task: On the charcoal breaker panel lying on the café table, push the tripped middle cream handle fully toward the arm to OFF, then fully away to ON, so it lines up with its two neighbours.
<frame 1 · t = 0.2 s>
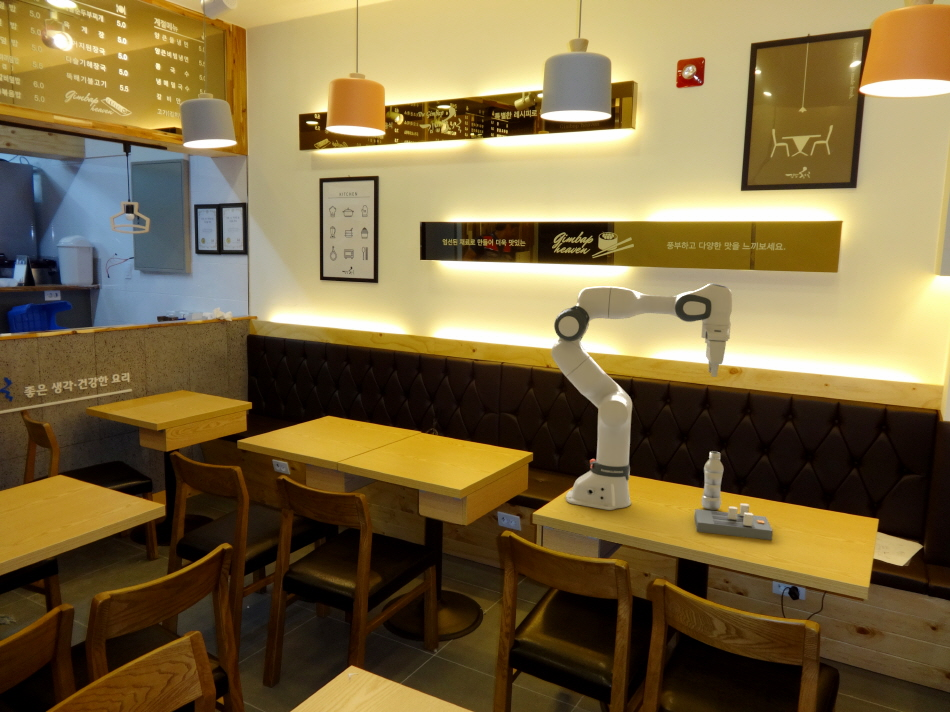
hand: (712, 374, 232), 47 cm above the table, tool pointing down, fingers open, 8 cm apart
breaker panel: (731, 528, 223), on the table
plastic bottle: (710, 509, 241), on the table
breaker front: (748, 519, 217), point 5 cm above the table, slide at 8.0 cm
breaker tripped: (732, 512, 223), point 5 cm above the table, slide at 4.0 cm
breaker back: (744, 509, 226), point 5 cm above the table, slide at 8.0 cm
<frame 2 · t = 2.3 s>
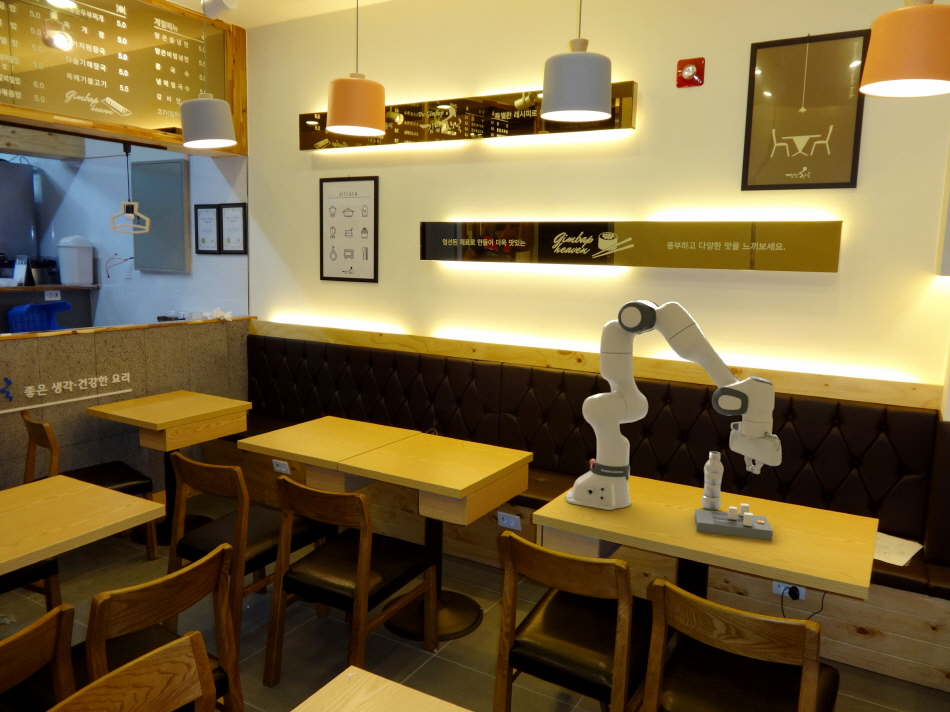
hand: (753, 472, 220), 19 cm above the table, tool pointing down, fingers closed
nothing on the table moved.
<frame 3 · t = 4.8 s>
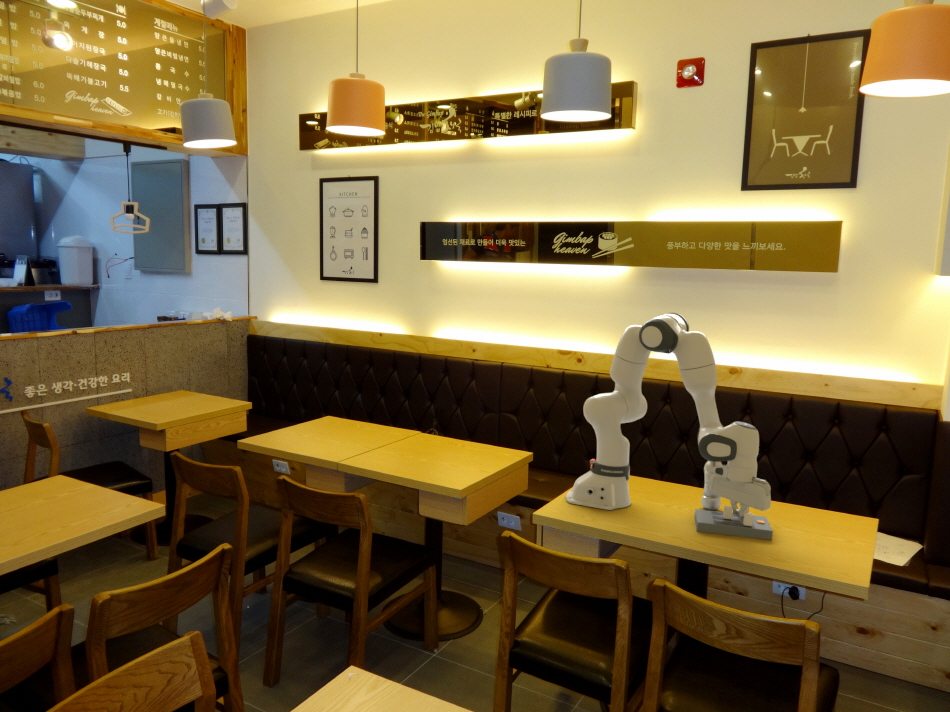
hand: (737, 515, 222), 4 cm above the table, tool pointing down, fingers closed
breaker tripped: (727, 512, 223), point 5 cm above the table, slide at 2.5 cm, touching gripper
everything else where it was.
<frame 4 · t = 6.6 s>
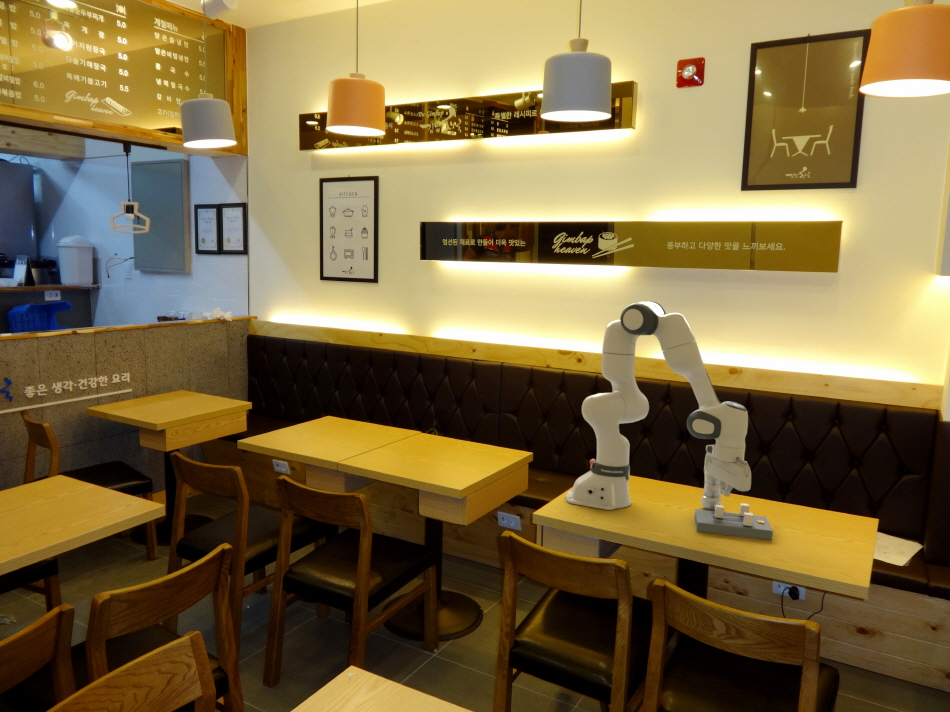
hand: (724, 495, 223), 11 cm above the table, tool pointing down, fingers closed
breaker tripped: (719, 511, 223), point 5 cm above the table, slide at -0.1 cm
everything else where it was.
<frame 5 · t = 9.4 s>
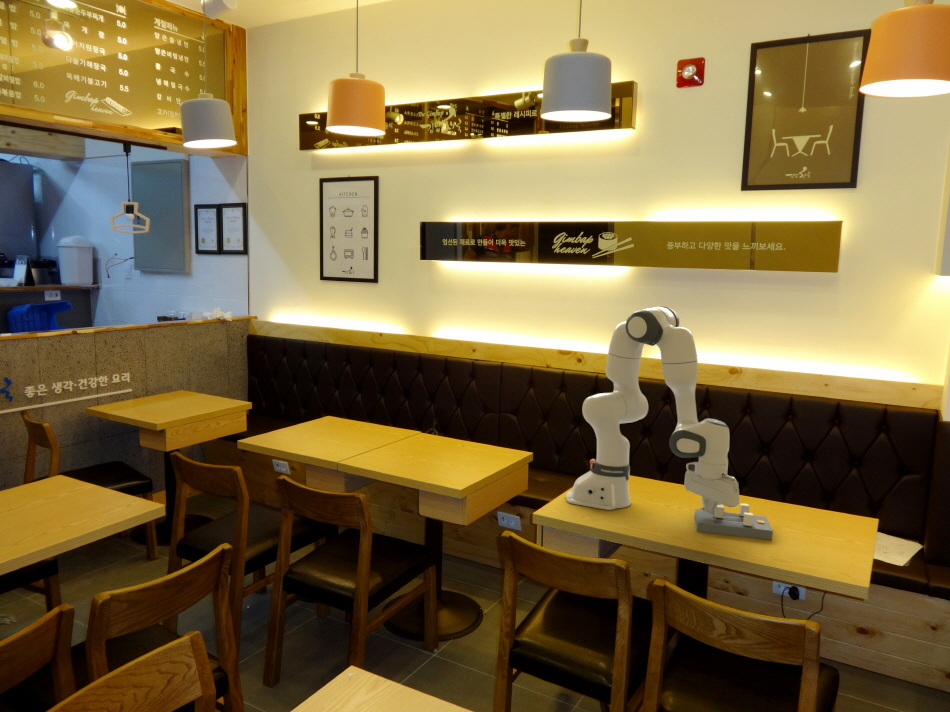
hand: (709, 511, 224), 5 cm above the table, tool pointing down, fingers closed
breaker tripped: (719, 511, 223), point 5 cm above the table, slide at 0.0 cm, touching gripper
everything else where it was.
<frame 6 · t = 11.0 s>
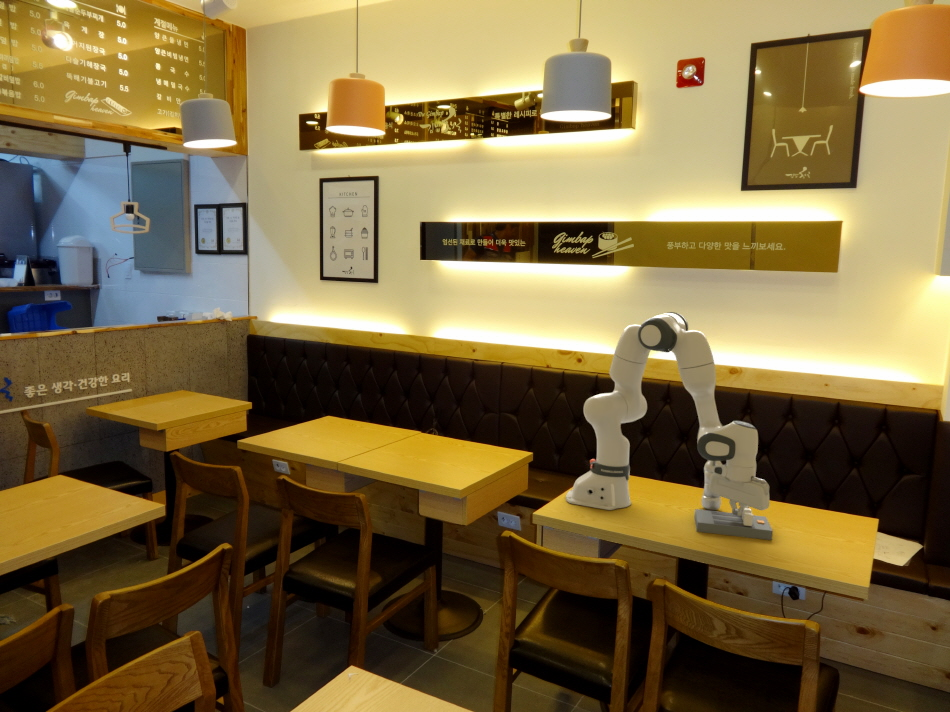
hand: (737, 515, 222), 5 cm above the table, tool pointing down, fingers closed
breaker tripped: (746, 514, 222), point 5 cm above the table, slide at 8.2 cm, touching gripper
everything else where it was.
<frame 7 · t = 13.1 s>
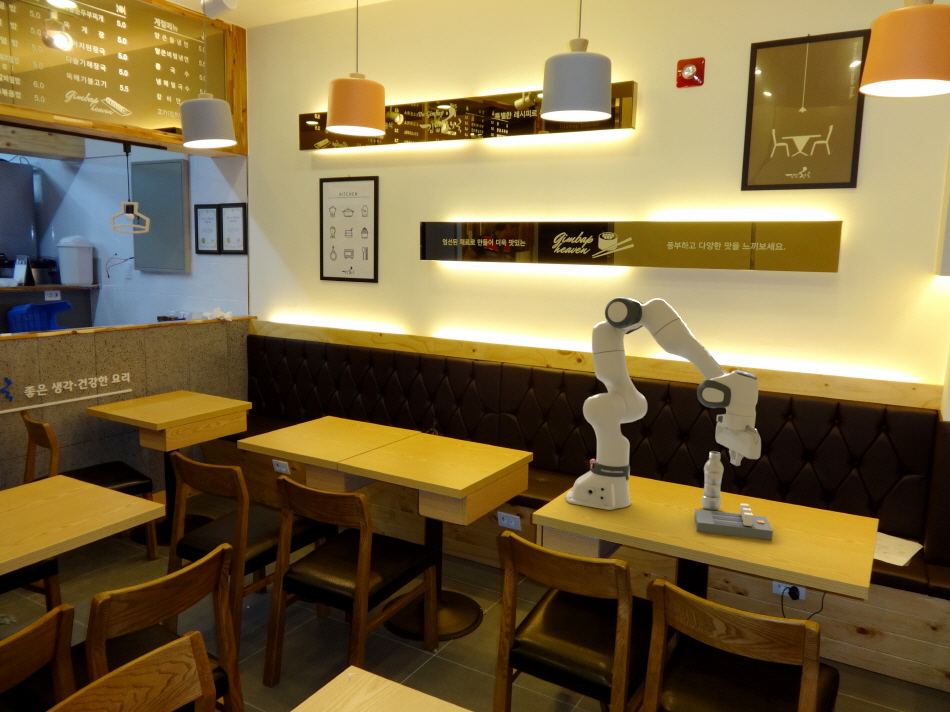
hand: (735, 464, 223), 21 cm above the table, tool pointing down, fingers closed
breaker tripped: (746, 514, 222), point 5 cm above the table, slide at 8.1 cm
everything else where it was.
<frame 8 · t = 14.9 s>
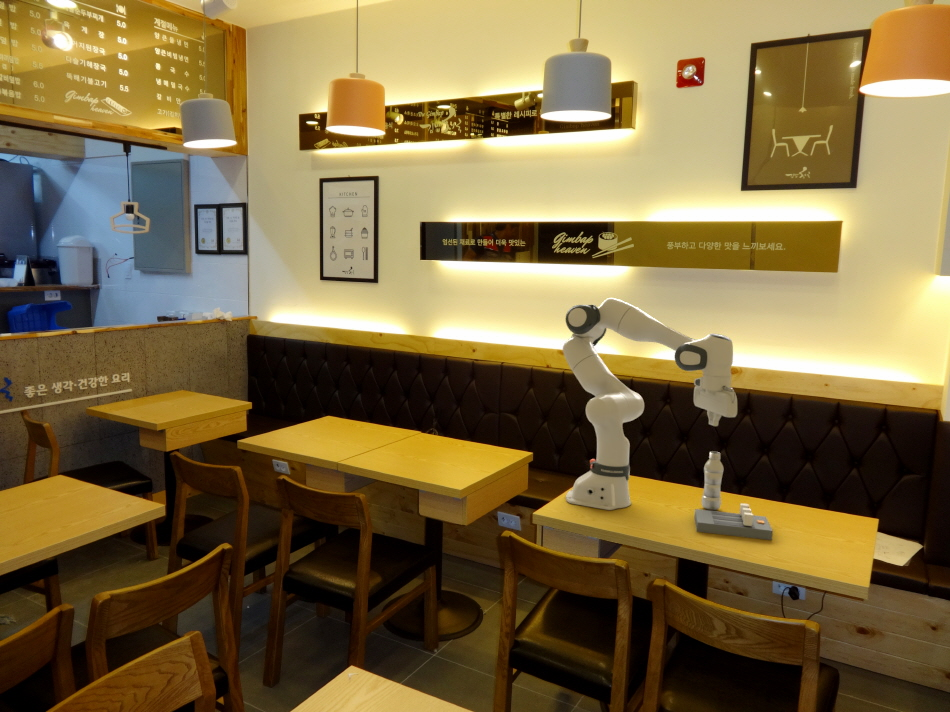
hand: (713, 425, 230), 31 cm above the table, tool pointing down, fingers closed
nothing on the table moved.
at the end: breaker tripped slide at 8.1 cm; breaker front slide at 8.0 cm; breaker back slide at 8.0 cm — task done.
